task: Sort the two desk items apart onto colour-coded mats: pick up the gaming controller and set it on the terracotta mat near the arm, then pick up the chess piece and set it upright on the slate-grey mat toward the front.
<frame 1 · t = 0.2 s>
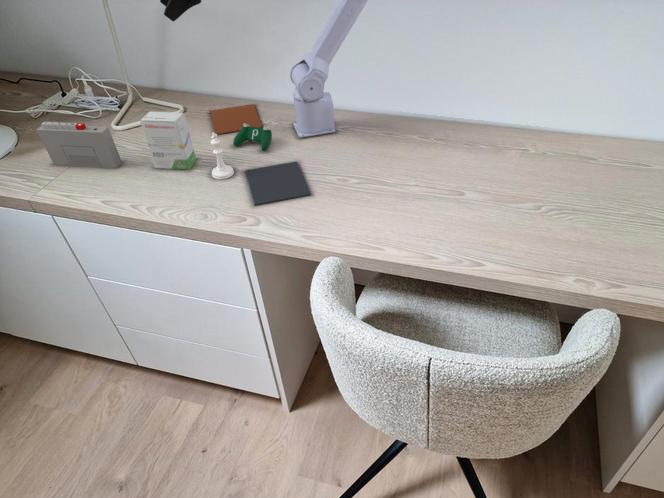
hand: (166, 11, 100), 31 cm above the table, tool tilted 45°, fingers open, 7 cm apart
ink box: (176, 164, 116), on the table
slate mat: (277, 183, 109), on the table
gaming controller: (255, 145, 122), on the table
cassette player: (88, 164, 116), on the table
chess piece: (223, 174, 112), on the table
cork mat: (235, 119, 131), on the table
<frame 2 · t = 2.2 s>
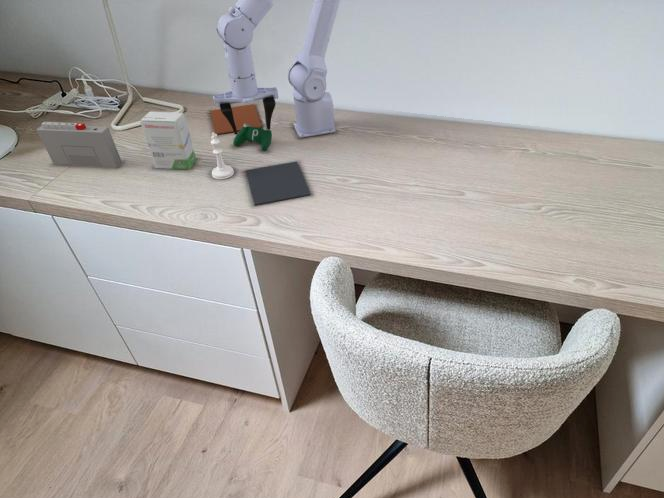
hand: (252, 130, 119), 4 cm above the table, tool pointing down, fingers open, 7 cm apart
gaming controller: (255, 145, 122), on the table, touching gripper
everything else where it was.
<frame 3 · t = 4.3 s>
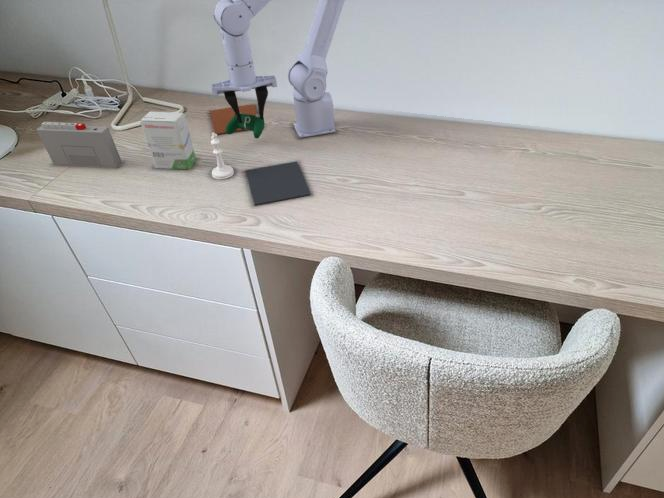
hand: (250, 119, 117), 6 cm above the table, tool pointing down, fingers closed on gaming controller, 4 cm apart
gaming controller: (247, 132, 119), point 3 cm above the table, touching gripper
everything else where it was.
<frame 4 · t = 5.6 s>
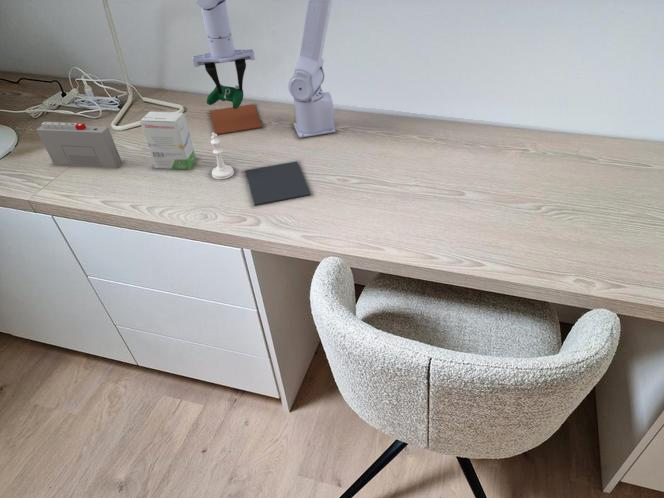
hand: (230, 91, 125), 8 cm above the table, tool pointing down, fingers closed on gaming controller, 4 cm apart
gaming controller: (228, 104, 127), point 5 cm above the table, touching gripper
everything else where it was.
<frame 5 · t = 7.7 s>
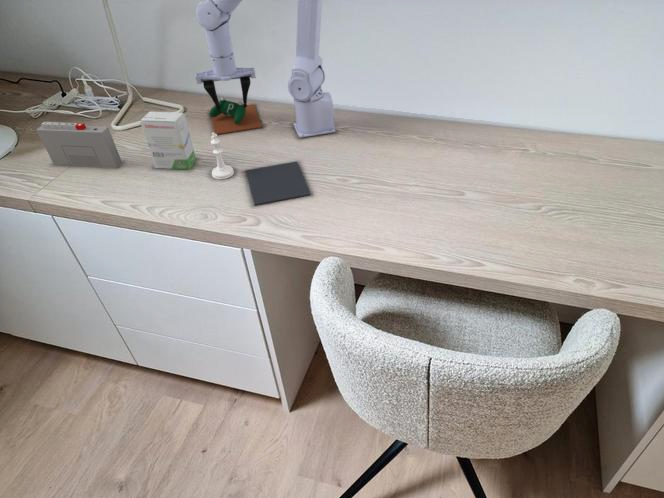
hand: (232, 107, 129), 4 cm above the table, tool pointing down, fingers closed on gaming controller, 6 cm apart
gaming controller: (229, 118, 131), point 1 cm above the table, touching cork mat, gripper
everything else where it was.
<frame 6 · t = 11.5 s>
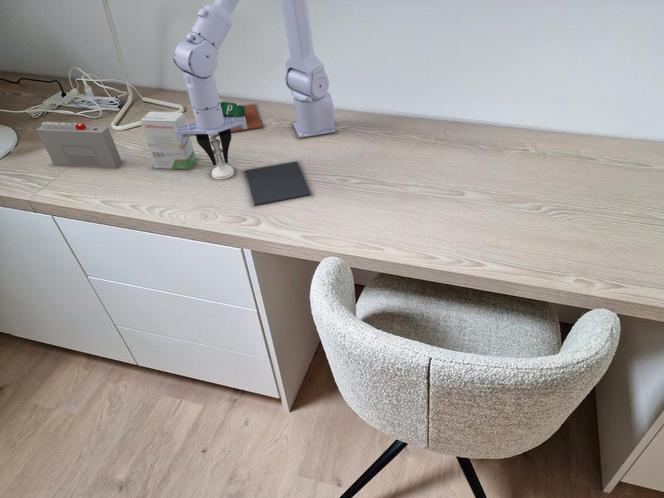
hand: (220, 162, 110), 3 cm above the table, tool pointing down, fingers closed on chess piece
gaming controller: (230, 119, 131), resting on cork mat
chess piece: (223, 174, 112), on the table, touching gripper
everything else where it was.
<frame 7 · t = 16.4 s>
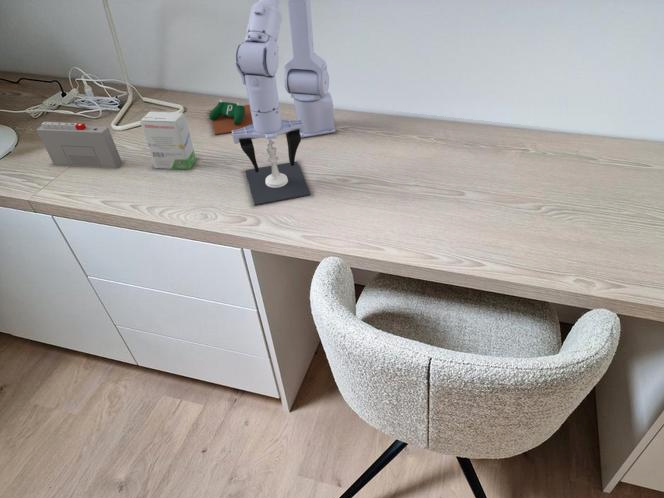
hand: (274, 166, 106), 4 cm above the table, tool pointing down, fingers open, 7 cm apart
chess piece: (276, 182, 109), resting on slate mat
everything else where it was.
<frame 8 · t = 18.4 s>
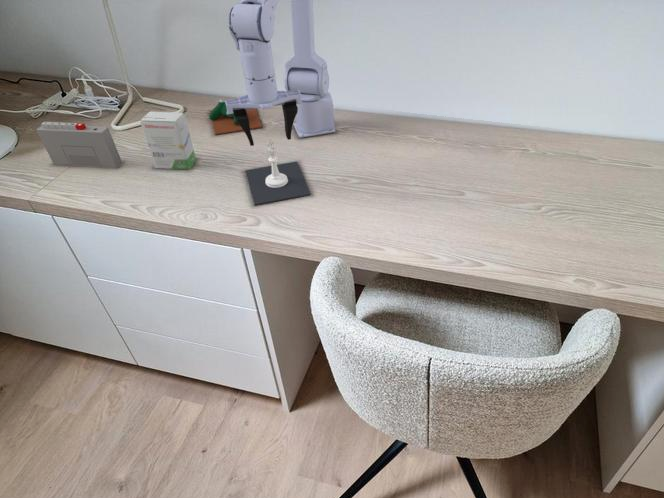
hand: (270, 140, 102), 10 cm above the table, tool pointing down, fingers open, 7 cm apart
nothing on the table moved.
at the end: gaming controller inside the target area on the cork mat (1.4 cm from its centre), point 0.2 cm above the cork mat's base; chess piece inside the target area on the slate mat (0.0 cm from its centre), point 0.2 cm above the slate mat's base; chess piece tilted 0° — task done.
